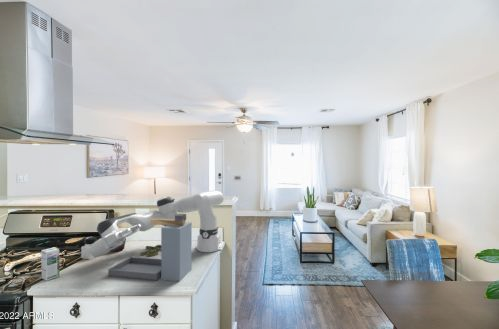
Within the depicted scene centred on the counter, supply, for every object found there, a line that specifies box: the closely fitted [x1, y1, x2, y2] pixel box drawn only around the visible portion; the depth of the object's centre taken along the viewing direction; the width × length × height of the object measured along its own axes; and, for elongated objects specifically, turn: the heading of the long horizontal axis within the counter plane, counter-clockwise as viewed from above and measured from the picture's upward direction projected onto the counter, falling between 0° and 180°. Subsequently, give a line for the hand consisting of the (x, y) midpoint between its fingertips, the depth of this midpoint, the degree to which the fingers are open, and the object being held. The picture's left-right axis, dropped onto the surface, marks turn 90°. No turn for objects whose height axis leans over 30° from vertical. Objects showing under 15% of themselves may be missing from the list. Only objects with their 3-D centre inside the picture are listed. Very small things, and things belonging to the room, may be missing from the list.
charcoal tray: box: [107, 256, 161, 282], centre depth 138 cm, size 18×27×4 cm, turn 79°
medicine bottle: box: [80, 236, 98, 260], centre depth 158 cm, size 7×7×12 cm
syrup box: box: [40, 246, 61, 282], centre depth 130 cm, size 6×6×14 cm
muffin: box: [112, 237, 127, 253], centre depth 170 cm, size 12×11×10 cm
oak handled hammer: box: [151, 213, 187, 226], centre depth 135 cm, size 5×18×6 cm, turn 79°
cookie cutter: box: [140, 244, 161, 258], centre depth 168 cm, size 18×12×2 cm, turn 7°
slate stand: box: [160, 221, 193, 282], centre depth 134 cm, size 14×10×26 cm
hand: (134, 227), depth 138 cm, fingers open, 8 cm apart
